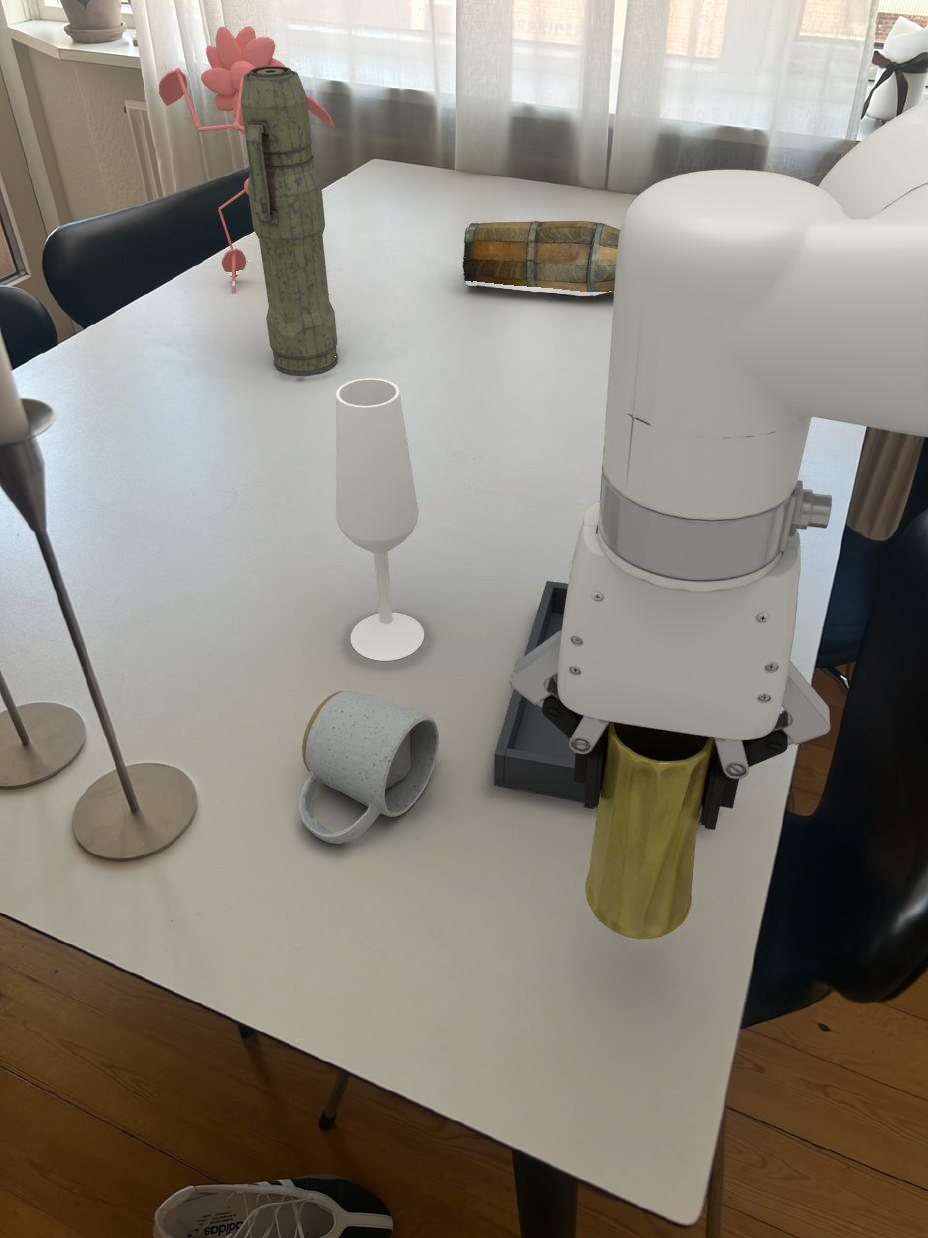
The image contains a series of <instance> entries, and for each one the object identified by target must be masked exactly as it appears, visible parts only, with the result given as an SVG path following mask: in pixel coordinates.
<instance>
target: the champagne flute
mask: <svg viewBox="0 0 928 1238" xmlns="http://www.w3.org/2000/svg"><path fill="white" fill-rule="evenodd" d="M400 393H401V392H400V388H399V387H398V385H397V384H396V383H394V382H392V381H390V380H386V379H383V378H377V377H376V378H375V377H368V378H367V377H366V378H359V379H354V380H350V381H347V382H345V383H344V384H342V385H340V386H339V387H338V388H337V390H336V392H335V472H336V473H335V485H336V486H335V497H336V498H335V500H336V501H335V503H336V504H335V509H336V510H335V511H336V516H335V517H336V519H335V520H336V522H337V525H338V528H339V530H340V531H341V532H342V534H343V535H344V536H345V537H346V538H347V539H348V540H350V542H352V543H353V544H354V545H355V546H357V547H360V548H362V549H364V550H365V551H368V552H370V553H373V561H374V573H375V574H374V575H375V583H376V595H377V607H378V608H377V609H378V613H376V614H373V615H370V616H367V617H365V618H364V619H362V620H360V621H359V622H358V623H357V624H356V625H355V626H354V627H353V629H352V631H351V633H350V638H349V639H350V645H351V646H352V648H353V649H354V650H355V652H356V653H358V654H359V655H361V656H362V657H365V658H367V659H369V660H373V661H381V662H387V661H388V662H389V661H390V662H391V661H396V660H400V659H403V658H406V657H409V656H410V655H412V654H413V653H415V652H416V651H417V650H418V649H419V648H420V647H421V645H422V644H423V642H424V639H425V631H424V628H423V626H422V625H421V623H420V622H419V621H417V619H415V618H413V617H412V616H410V615H408V614H404V613H401V612H400V613H399V612H393V607H392V605H393V604H392V592H391V581H390V579H391V578H390V564H389V552H391V551H393V550H394V549H395V548H396V547H398V546H399V545H400V544H402V543H403V542H404V541H406V540H407V538H409V537H410V535H411V534H412V532H413V531H414V530H415V528H416V526H417V523H418V520H419V515H420V513H419V512H420V511H419V506H418V505H419V504H418V501H417V500H418V498H417V493H416V487H415V480H414V475H413V474H414V473H413V468H412V462H411V461H412V460H411V456H410V449H409V444H408V443H409V442H408V437H407V429H406V423H405V417H404V411H403V405H402V397H401V394H400Z"/></svg>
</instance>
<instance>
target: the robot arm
mask: <svg viewBox="0 0 928 1238" xmlns="http://www.w3.org/2000/svg"><path fill="white" fill-rule="evenodd" d="M619 230H620V234H619V242H618V250H617V259H616V274H615V289H614V292H613V302H612V303H613V305H612V317H611V318H612V319H611V333H610V346H609V347H610V349H609V361H608V376H607V377H608V378H607V391H606V395H607V396H606V404H605V405H606V406H605V419H604V420H605V421H604V432H603V433H604V434H603V435H604V436H603V450H602V462H601V463H602V464H601V475H600V476H601V477H600V493H599V500H597V501H596V502H594V503H592V504H590V506H589V507H588V508H587V509H586V511H585V513H584V514H583V515H584V516H583V518H582V522H581V525H580V528H579V531H578V535H577V539H576V542H575V547H574V551H573V556H572V559H571V560H572V561H571V566H570V573H569V578H568V583H567V584H568V590H567V597H566V603H565V610H564V618H563V626H562V629H561V630H560V631H558V632H557V633H556V634H554V635H553V636H552V637H550V638H549V639H547V640H546V641H545V642H543V643H542V644H541V645H539V646H538V647H536V648H535V649H534V650H532V651H531V652H530V653H528V654H527V655H525V656H524V655H523V657H521V658H519V660H517V661H516V662H515V663H514V667H513V669H512V673H511V675H510V679H509V684H510V686H511V688H513V690H514V689H515V690H516V691H518V692H519V693H520V694H521V695H523V696H524V697H525V698H527V699H528V700H529V701H530V702H532V703H533V704H534V705H536V704H537V705H538V706H540V707H541V708H542V713H543V715H544V716H545V717H546V718H547V719H548V720H549V721H551V722H552V723H553V724H554V725H555V726H556V727H557V728H558V729H560V730H561V731H562V732H563V733H564V734H565V735H566V736H567V737H569V738H570V740H569V747H570V748H571V749H572V750H573V751H574V752H576V753H575V769H574V782H577V783H583V784H586V786H585V799H584V802H583V808H584V809H585V808H586V809H589V810H590V809H591V810H594V809H595V808H598V804H599V799H600V793H601V788H602V779H603V768H604V758H605V748H606V736H607V725H608V723H609V722H610V721H612V722H618V723H623V724H629V725H636V726H642V727H648V728H655V729H661V730H668V731H674V732H681V733H688V734H694V735H701V736H709V737H714V739H715V748H714V752H713V756H712V760H711V765H710V770H709V775H708V780H707V785H706V790H705V795H704V800H703V806H702V819H701V824H700V825H701V826H703V827H704V829H707V830H712V831H716V828H717V823H718V819H719V815H720V809H721V808H727V809H733V808H734V804H735V801H736V795H737V791H738V786H739V783H740V779H741V780H742V779H744V778H747V776H748V775H749V773H750V768H751V767H753V766H755V765H758V764H760V763H762V762H765V761H767V760H770V759H771V758H774V757H776V756H779V755H781V754H783V753H785V752H786V751H787V750H788V747H789V746H791V745H795V746H797V745H800V744H803V743H805V742H808V741H811V740H814V739H816V738H819V737H822V736H825V735H827V734H829V733H830V731H831V714H830V713H831V711H830V707H829V706H828V704H827V703H826V702H825V701H824V699H823V698H822V697H821V696H820V695H819V693H818V692H817V691H816V689H814V687H813V686H812V685H811V683H809V681H808V680H807V679H806V678H805V676H804V675H803V674H802V673H801V671H800V670H799V669H798V668H797V667H796V666H795V664H794V663H793V662H792V661H791V655H792V651H793V644H794V637H795V631H796V624H797V623H796V621H797V612H798V611H797V610H798V599H799V598H798V597H799V584H800V583H799V582H800V576H801V564H802V563H801V558H802V557H801V555H802V553H801V537H800V533H799V531H798V530H803V531H806V530H807V529H808V528H817V529H818V528H819V529H826V530H827V528H828V526H829V523H830V518H831V514H832V505H833V495H831V494H823V493H814V491H813V489H808V488H804V484H803V480H799V475H800V470H801V467H802V461H803V457H804V452H805V449H806V444H807V439H808V435H809V430H810V426H811V422H812V418H817V419H824V420H827V421H828V420H829V421H835V422H841V423H845V424H851V425H857V426H863V427H868V428H873V429H877V430H883V431H888V432H892V433H898V434H902V435H903V434H904V435H909V436H916V437H923V438H928V98H926V99H925V100H923V101H921V102H919V103H917V104H916V105H913V106H912V107H910V108H909V109H907V110H906V111H903V112H902V113H900V114H899V115H896V116H895V117H894V118H892V119H890V120H889V121H887V122H885V124H883V125H881V126H880V127H879V128H877V129H875V130H874V131H872V132H871V133H870V134H869V135H867V136H866V137H864V138H863V139H862V140H860V141H859V142H858V143H857V144H856V145H855V146H853V148H852V149H850V150H849V151H848V152H847V153H846V154H845V155H844V156H842V157H841V158H840V159H839V160H838V161H837V162H836V163H835V165H834V166H833V167H832V168H831V169H830V170H829V171H828V173H827V174H826V175H825V176H824V177H823V178H822V180H821V182H820V183H819V185H818V186H817V185H815V184H813V183H810V182H807V181H805V180H802V179H799V178H797V177H793V176H791V175H790V176H789V175H785V174H781V173H774V172H769V171H760V170H751V169H749V170H748V169H714V170H713V169H711V170H702V171H693V172H689V173H684V174H683V173H682V174H678V175H676V176H673V177H669V178H665V179H663V180H660V181H658V182H656V183H654V184H652V185H650V186H649V187H648V188H646V189H645V190H644V191H642V192H640V194H638V196H637V197H636V198H635V199H634V200H633V202H632V203H631V204H630V205H629V207H628V209H627V210H626V213H625V215H624V217H623V221H622V223H621V226H620V229H619ZM557 673H558V681H556V680H555V677H553V676H554V675H556V674H557ZM782 709H783V710H782ZM781 710H782V711H781Z"/></svg>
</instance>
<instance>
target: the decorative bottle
mask: <svg viewBox="0 0 928 1238" xmlns="http://www.w3.org/2000/svg"><path fill="white" fill-rule="evenodd" d="M619 234H620V229H619V228H617V227H615V226H611V225H608V224H606V223H603V222H595V221H589V220H560V221H559V220H557V221H554V220H551V221H550V220H549V221H544V220H543V221H538V220H533V221H497V222H471V223H470V224H468V227H466V228H465V230H464V238H463V243H464V247H463V257H462V260H463V261H462V271H463V273H462V274H463V280H464V282H465V281H471V282H473V281H477V282H485V283H494V284H503V285H514V286H527V287H541V288H553V289H562V290H570V291H580V292H609V291H614V289H615V274H616V259H617V250H618V242H619Z"/></svg>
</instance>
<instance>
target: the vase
mask: <svg viewBox="0 0 928 1238" xmlns="http://www.w3.org/2000/svg"><path fill="white" fill-rule="evenodd" d="M714 748H715V739H714V737H709V736H701V735H694V734H688V733H681V732H674V731H668V730H661V729H655V728H648V727H642V726H636V725H629V724H623V723H618V722H612V721H610V722H609V723H608V725H607V736H606V748H605V758H604V768H603V779H602V788H601V793H600V799H599V804H598V807H597V811H596V814H597V815H596V817H595V818H596V819H595V825H594V832H593V833H594V834H593V836H592V837H593V839H592V844H591V852H590V862H589V870H588V872H587V876H586V879H585V887H584V893H585V897H586V902H587V905H588V907H589V908H590V910H591V912H592V914H593V915H594V916H595V918H596V919H597V920H598V921H599V922H600V923H601V924H603V925H604V926H605V927H606V928H608V929H609V930H611V931H612V932H614V933H616V934H617V935H620V936H623V937H627V938H630V939H635V940H651V939H654V940H655V939H658V938H661V937H665V936H667V935H669V934H671V933H672V932H674V931H675V930H677V929H678V928H679V927H680V926H681V925H683V924H684V922H685V921H686V919H687V918H688V916H689V913H690V910H691V907H692V903H693V902H692V901H693V896H692V895H693V882H694V881H693V880H694V867H695V857H696V843H697V841H696V840H697V833H698V829H699V825H700V824H699V819H700V815H701V811H702V806H703V800H704V795H705V790H706V785H707V780H708V775H709V770H710V765H711V760H712V756H713V752H714Z"/></svg>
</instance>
